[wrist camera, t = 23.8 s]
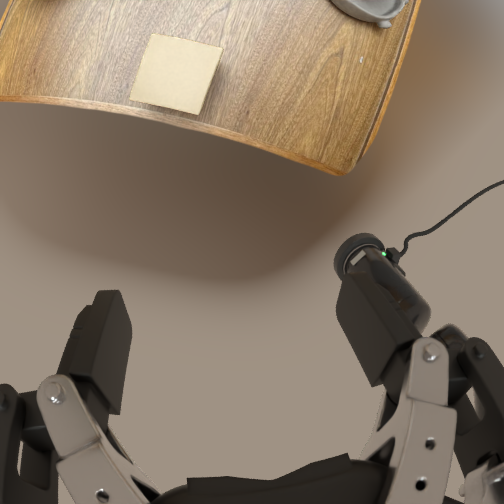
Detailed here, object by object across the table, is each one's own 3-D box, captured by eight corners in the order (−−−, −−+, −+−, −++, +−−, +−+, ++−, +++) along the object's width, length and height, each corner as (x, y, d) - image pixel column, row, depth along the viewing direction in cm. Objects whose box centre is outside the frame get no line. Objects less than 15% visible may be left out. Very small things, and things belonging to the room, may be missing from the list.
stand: (219, 62, 32) (224, 48, 23) (201, 111, 36) (198, 115, 26) (166, 49, 30) (152, 32, 20) (148, 99, 33) (128, 100, 24)
